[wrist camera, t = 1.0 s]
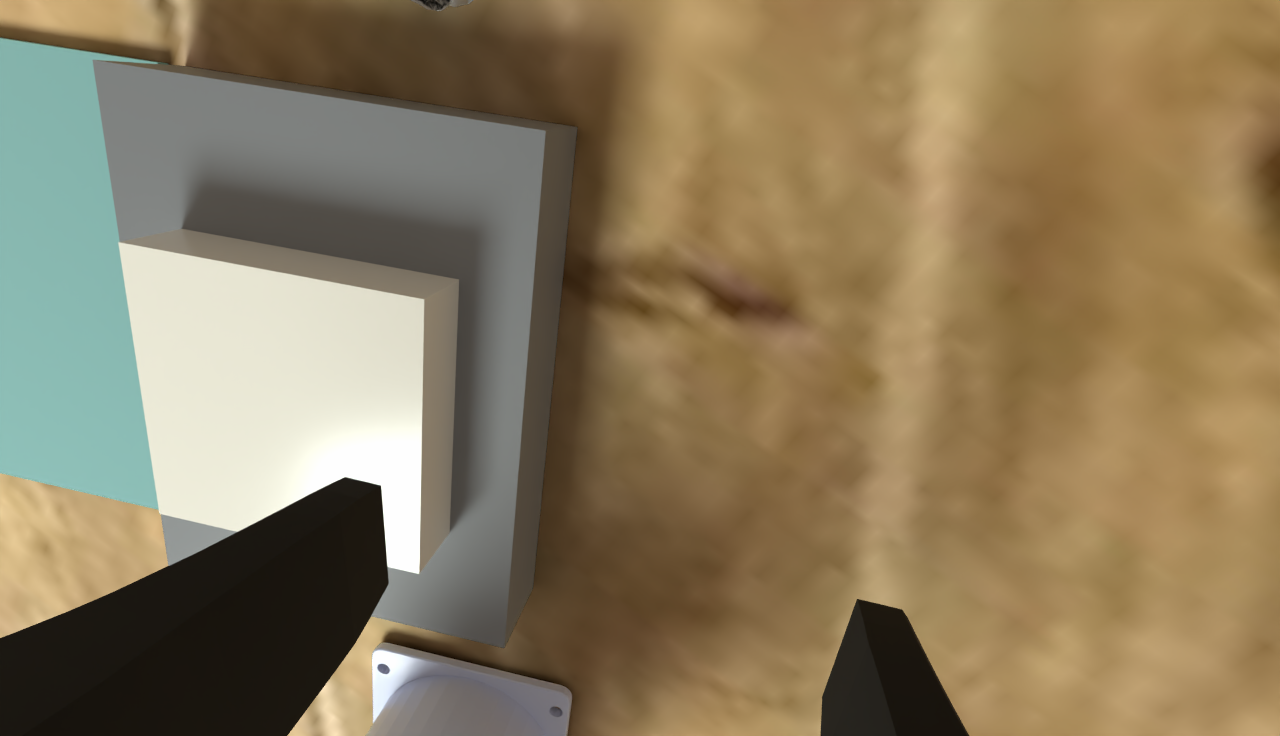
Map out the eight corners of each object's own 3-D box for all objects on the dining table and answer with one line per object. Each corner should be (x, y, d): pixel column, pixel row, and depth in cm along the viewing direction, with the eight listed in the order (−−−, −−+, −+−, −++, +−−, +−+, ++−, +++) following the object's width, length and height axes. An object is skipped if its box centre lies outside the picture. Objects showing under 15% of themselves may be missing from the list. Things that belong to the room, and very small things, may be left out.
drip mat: (219, 516, 26) (211, 521, 26) (-54, 453, 28) (-65, 458, 27) (168, 63, 20) (157, 62, 20) (-178, 9, 22) (-194, 8, 21)
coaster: (449, 532, 21) (419, 574, 19) (210, 479, 22) (159, 513, 20) (458, 279, 18) (424, 299, 16) (181, 228, 19) (118, 241, 17)
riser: (533, 588, 25) (504, 648, 22) (231, 519, 26) (168, 567, 24) (577, 127, 19) (545, 130, 16) (183, 65, 20) (92, 59, 18)
